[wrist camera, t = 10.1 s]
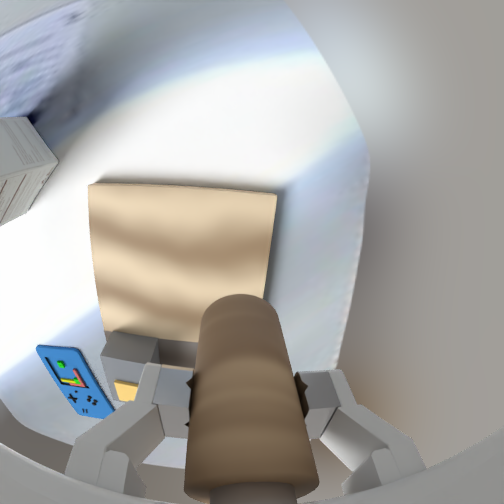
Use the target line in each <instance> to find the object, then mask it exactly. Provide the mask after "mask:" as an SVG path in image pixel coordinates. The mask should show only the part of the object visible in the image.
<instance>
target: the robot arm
mask: <svg viewBox="0 0 504 504" xmlns="http://www.w3.org/2000/svg"><path fill="white" fill-rule="evenodd" d="M194 376H195V375H194V368H186V367H178V366H171V365H164V364H163V365H162V364H155V363H149V362H147V363H146V364H145V366H144V369H143V372H142V375H141V379H140V382H139V385H138V389H137V392H136V395H135V399H134V401H131V400H129V401H128V402H126V403H125V404H123V405H122V406H121V407H119V408H118V409H117V410H115V411H114V412H113V413H111V414H110V415H109V416H107V417H106V418H104V419H103V420H102V421H100V422H99V423H97V424H96V425H95V426H93V427H92V428H90V429H89V430H88V431H86V432H85V433H83V434H82V435H81V436H79V437H78V438H76V441H75V443H74V446H73V450H72V452H71V455H70V458H69V461H68V464H67V467H66V470H65V473H64V474H61V473H59V472H57V471H54V470H52V469H50V468H47V467H45V466H43V465H41V464H39V463H37V462H35V461H32V460H31V459H29V458H27V457H25V456H23V455H21V454H19V453H17V452H15V451H14V450H12V449H10V448H8V447H7V446H5V445H3V444H1V443H0V504H175V503H168V502H161V501H155V500H150V499H145V493H146V485H145V484H144V482H143V481H142V479H141V477H140V476H139V474H138V473H137V471H136V468H137V467H138V466H139V465H140V464H141V463H142V462H143V461H144V460H145V459H146V458H147V457H148V455H149V454H150V453H151V452H152V451H153V450H154V449H155V448H156V447H157V446H158V445H159V444H160V443H161V442H162V440H163V439H164V438H165V436H166V437H175V438H186V439H188V429H189V421H190V413H191V403H192V400H191V399H192V392H193V385H194ZM294 380H295V384H296V388H297V392H298V396H299V400H300V404H301V408H302V412H303V416H304V420H305V424H306V428H307V432H308V436H309V439H316V438H320V440H321V441H322V442H323V443H324V444H325V445H326V446H327V447H328V448H329V449H330V450H331V451H332V452H333V453H334V454H335V455H336V456H337V457H338V458H339V459H340V460H341V461H342V462H343V463H344V464H345V465H346V466H347V467H348V468H349V469H350V470H351V471H353V473H352V474H351V475H350V476H349V477H348V478H347V479H346V480H345V481H344V482H343V483H342V488H343V492H344V496H340V497H336V498H331V499H325V500H320V501H315V502H307V503H300V504H504V426H503V427H501V428H500V429H498V430H497V431H495V432H494V433H492V434H491V435H489V436H488V437H486V438H485V439H483V440H481V441H479V442H478V443H476V444H475V445H473V446H471V447H469V448H468V449H466V450H464V451H462V452H460V453H458V454H457V455H454V456H453V457H451V458H449V459H447V460H444V461H442V462H440V463H438V464H436V465H434V466H432V467H429V468H427V469H426V467H425V464H424V462H423V460H422V458H421V456H420V454H419V452H418V450H417V448H416V445H415V444H414V441H413V439H412V438H410V437H409V436H407V435H405V434H404V433H402V432H401V431H399V430H398V429H396V428H395V427H393V426H392V425H390V424H389V423H387V422H386V421H384V420H383V419H382V418H380V417H379V416H377V415H376V414H374V413H373V412H371V411H370V410H369V409H367V408H366V407H364V406H363V405H357V403H356V401H355V398H354V396H353V394H352V391H351V389H350V387H349V384H348V382H347V380H346V378H345V375H344V373H343V371H342V370H341V369H338V370H326V371H325V370H322V371H302V372H296V374H295V376H294Z"/></svg>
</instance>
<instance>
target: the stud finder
mask: <svg viewBox="0 0 504 504" xmlns="http://www.w3.org/2000/svg"><path fill="white" fill-rule="evenodd" d="M100 357H101V361H102V364H103V368H104V372H105V375H106V378H107V382H108V385H109V388H110V391H111V394H112V397H113V400H116V401H121V402H125V403H126V402H128V401H129V400H131V401H134V399H135V395H136V392H137V389H138V385H139V382H140V379H141V375H142V372H143V369H144V366H145V364H146V363H147V362H149V363H155V364H160V359H159V348H158V338H155V337H148V336H141V335H135V334H129V333H123V332H118V331H112V333H111V335H110V337H109V339H108V341H107V343H106V345H105V347H104V349H103V351H102V353H101V355H100Z"/></svg>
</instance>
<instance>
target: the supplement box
mask: <svg viewBox="0 0 504 504" xmlns="http://www.w3.org/2000/svg"><path fill="white" fill-rule="evenodd" d="M58 163H59V161H58V159H57V158H56V157H55V156H54V154H53V153H52V152H51V150H50V149H49V148H48V146H47V145H46V144H45V142H44V141H43V139H42V138H41V137H40V135H39V134H38V133H37V131H36V130H35V128H34V127H33V126H32V124H31V123H30V121H29V120H28V118H27V117H0V226H2V225H4V224H5V223H7V222H9V221H11V220H13V219H15V218H17V217H19V216H21V215H23V214H25V213H26V212H27V210H28V209H29V207H30V206H31V204H32V202H33V201H34V199H35V197H36V196H37V194H38V192H39V191H40V189H41V188H42V186H43V185H44V183H45V182H46V180H47V179H48V177H49V176H50V174H51V173H52V171H53V170H54V169H55V167H56V166H57V164H58Z"/></svg>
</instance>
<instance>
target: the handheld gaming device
mask: <svg viewBox="0 0 504 504" xmlns="http://www.w3.org/2000/svg"><path fill="white" fill-rule="evenodd" d="M36 351H37V353H38V355H39V356H40V358H41V360H42V362H43V363H44V365H45V367H46V368H47V370H48V371H49V373H50V375H51V376H52V378H53V379H54V381H55V382H56V384H57V385H58V387H59V388H60V390H61V391H62V393H63V394H64V396H65V397H66V398H67V400H68V401H69V403H70V404H71V405H72V407H73V408H74V409H75V411H76V412H77V413H78V414H79V415H82V416H88V417H94V418H101V419H104V418H106V417H107V416H109V415H110V414H111V413H113V412H114V411H115V410H114V409H113V407H112V405H111V404H110V402H109V401H108V399H107V398H106V396H105V395H104V393H103V391H102V390H101V388H100V386H99V385H98V383H97V381H96V380H95V378H94V376H93V375H92V373H91V371H90V369H89V367H88V366H87V364H86V362H85V360H84V358H83V356H82V354H81V352H80V351H79V350H78V349H76V348H68V347H54V346H43V345H38V346H37V347H36Z"/></svg>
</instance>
